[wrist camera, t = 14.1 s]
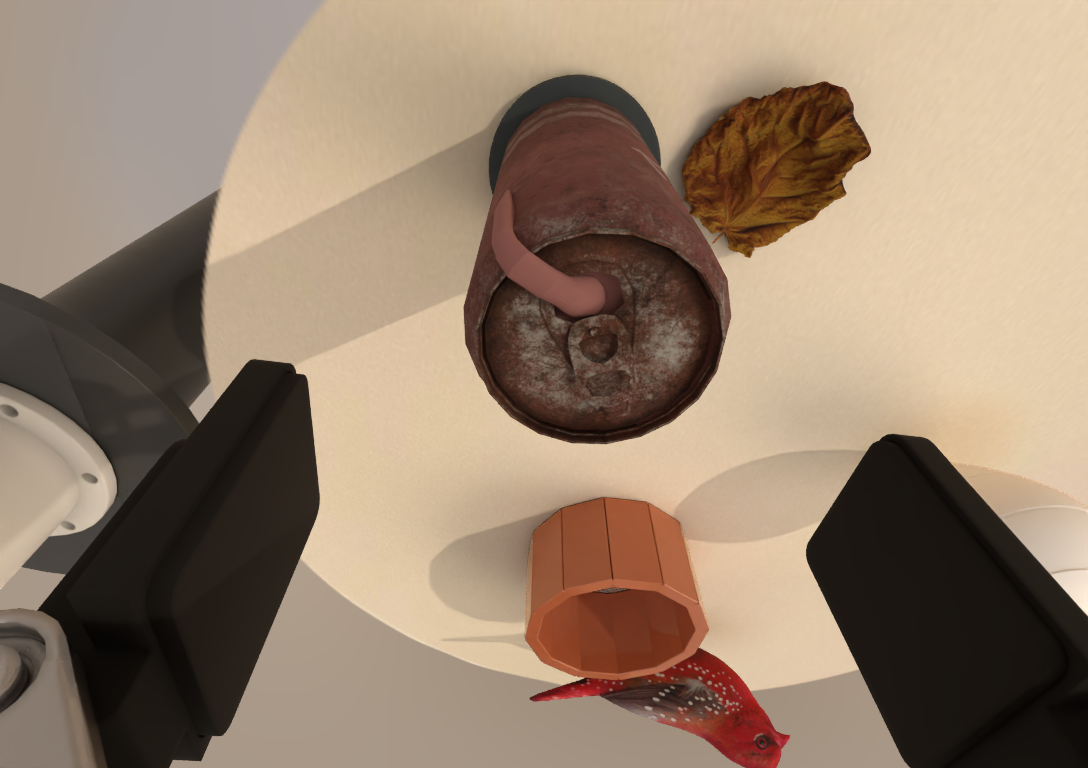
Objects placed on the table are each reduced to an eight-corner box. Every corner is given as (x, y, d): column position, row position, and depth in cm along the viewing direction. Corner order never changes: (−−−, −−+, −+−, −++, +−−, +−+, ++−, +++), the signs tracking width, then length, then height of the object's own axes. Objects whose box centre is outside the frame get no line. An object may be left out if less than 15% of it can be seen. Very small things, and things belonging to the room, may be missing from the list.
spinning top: (969, 498, 35) (1131, 694, 26) (847, 501, 35) (961, 696, 26) (1026, 402, 31) (1248, 595, 21) (886, 406, 31) (1041, 598, 21)
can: (560, 53, 21) (575, 133, 9) (677, 164, 23) (802, 337, 12) (468, 181, 24) (393, 363, 12) (580, 270, 26) (606, 493, 14)
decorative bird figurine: (749, 638, 45) (794, 783, 37) (530, 627, 44) (526, 772, 36) (760, 617, 43) (810, 764, 35) (532, 606, 42) (529, 753, 34)
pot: (520, 591, 41) (516, 672, 36) (542, 489, 35) (541, 571, 30) (661, 605, 42) (676, 685, 37) (707, 508, 36) (732, 590, 31)
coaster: (482, 238, 26) (481, 242, 25) (499, 59, 21) (498, 60, 21) (635, 261, 26) (636, 265, 26) (680, 91, 22) (682, 93, 22)
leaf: (655, 152, 24) (660, 168, 22) (820, 39, 20) (836, 51, 19) (723, 260, 27) (730, 279, 26) (872, 177, 24) (888, 194, 23)
